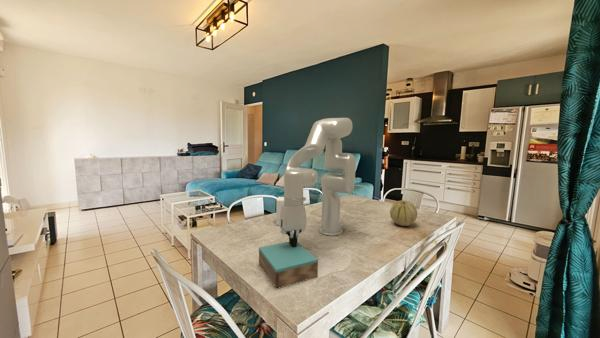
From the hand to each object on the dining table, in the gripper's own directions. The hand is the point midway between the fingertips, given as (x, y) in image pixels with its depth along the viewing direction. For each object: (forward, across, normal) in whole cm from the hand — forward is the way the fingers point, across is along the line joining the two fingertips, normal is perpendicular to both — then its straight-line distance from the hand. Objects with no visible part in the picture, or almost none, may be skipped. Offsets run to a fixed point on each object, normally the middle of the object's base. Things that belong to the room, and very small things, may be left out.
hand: (293, 245), depth 98 cm
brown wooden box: (+7, +5, +5) cm, 10 cm away
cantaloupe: (+7, -76, -11) cm, 77 cm away
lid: (+1, +5, +5) cm, 7 cm away
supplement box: (+7, -15, -43) cm, 46 cm away
